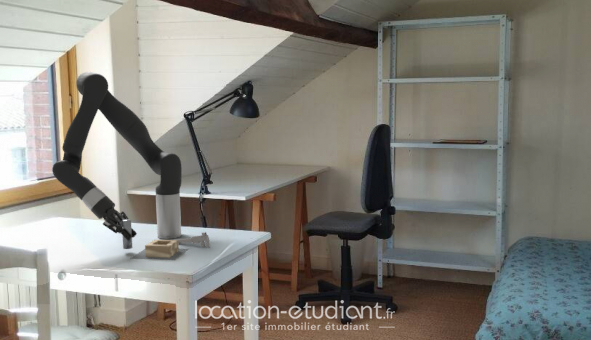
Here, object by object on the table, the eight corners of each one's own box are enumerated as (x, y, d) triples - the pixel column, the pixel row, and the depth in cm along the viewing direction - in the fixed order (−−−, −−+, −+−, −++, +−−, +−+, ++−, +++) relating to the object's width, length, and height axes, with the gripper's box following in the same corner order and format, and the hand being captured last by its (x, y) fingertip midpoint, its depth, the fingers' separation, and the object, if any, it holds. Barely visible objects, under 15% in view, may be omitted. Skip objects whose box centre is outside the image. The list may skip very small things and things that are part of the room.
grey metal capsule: (125, 246, 233) (123, 219, 232) (134, 246, 232) (132, 219, 231) (121, 248, 230) (120, 221, 228) (130, 249, 229) (128, 221, 228)
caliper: (209, 249, 238) (209, 232, 237) (208, 249, 237) (207, 232, 236) (165, 243, 247) (164, 227, 246) (163, 244, 246) (162, 228, 245)
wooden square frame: (155, 250, 234) (154, 239, 233) (178, 251, 232) (178, 240, 232) (145, 256, 225) (145, 245, 225) (169, 257, 224) (169, 246, 223)
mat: (147, 248, 238) (147, 247, 238) (189, 250, 236) (189, 248, 235) (130, 259, 224) (129, 258, 224) (174, 261, 221) (174, 259, 221)
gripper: (95, 199, 223) (131, 234, 222) (113, 192, 237) (147, 225, 236) (82, 214, 225) (117, 249, 224) (101, 206, 238) (134, 239, 238)
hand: (132, 236), depth 230 cm, fingers closed on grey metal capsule, 3 cm apart
